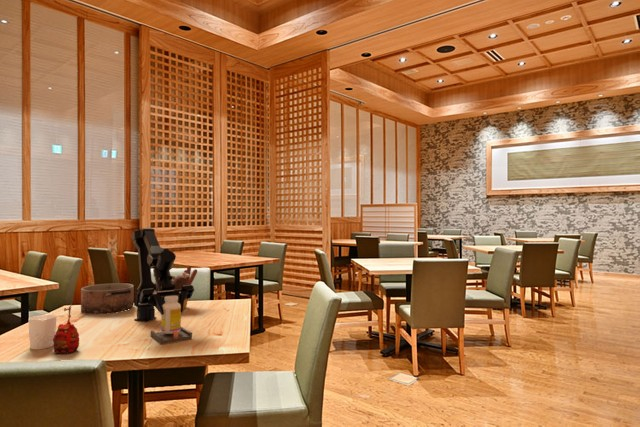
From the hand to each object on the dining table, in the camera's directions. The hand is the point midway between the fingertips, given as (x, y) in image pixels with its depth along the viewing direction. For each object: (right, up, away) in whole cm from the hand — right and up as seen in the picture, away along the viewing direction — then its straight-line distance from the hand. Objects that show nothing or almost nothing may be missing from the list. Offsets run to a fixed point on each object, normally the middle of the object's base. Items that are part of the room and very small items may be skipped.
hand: (172, 313), depth 151 cm
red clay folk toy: (-29, -9, -15) cm, 34 cm away
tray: (-1, -9, +1) cm, 9 cm away
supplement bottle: (-1, -7, +1) cm, 7 cm away
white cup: (-40, -9, -10) cm, 43 cm away
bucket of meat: (-17, -10, +50) cm, 54 cm away
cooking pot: (-48, -10, +48) cm, 69 cm away
